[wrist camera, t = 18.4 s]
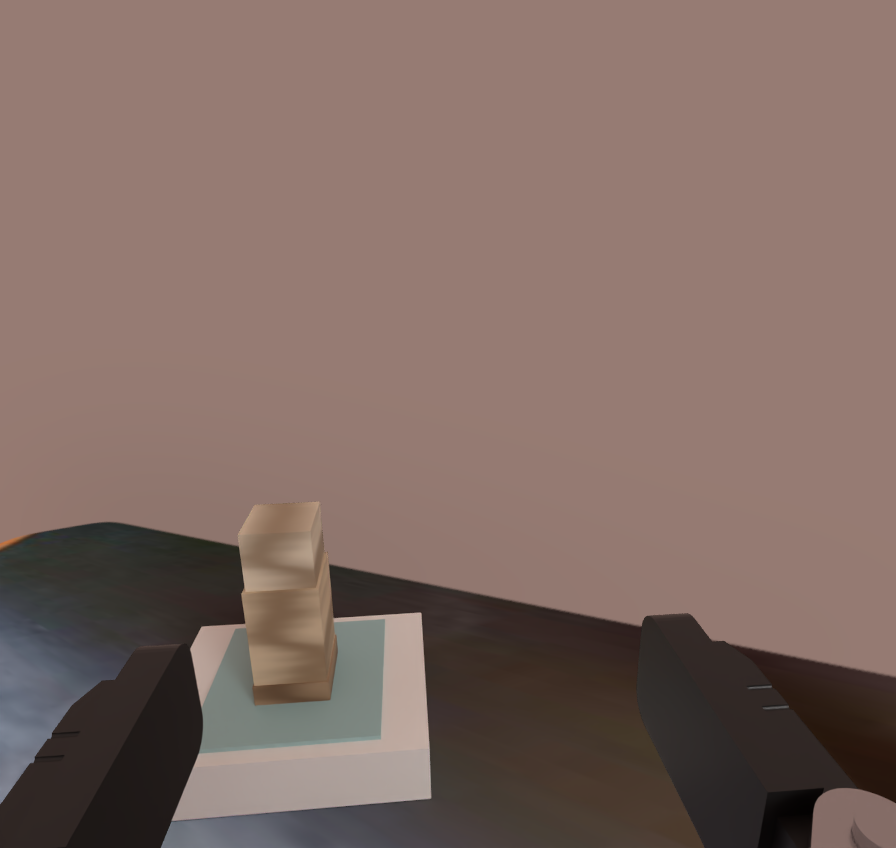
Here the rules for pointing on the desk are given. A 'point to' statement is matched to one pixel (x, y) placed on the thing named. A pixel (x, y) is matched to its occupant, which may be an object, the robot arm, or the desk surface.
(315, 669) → the wooden block tower
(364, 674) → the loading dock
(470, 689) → the desk surface
